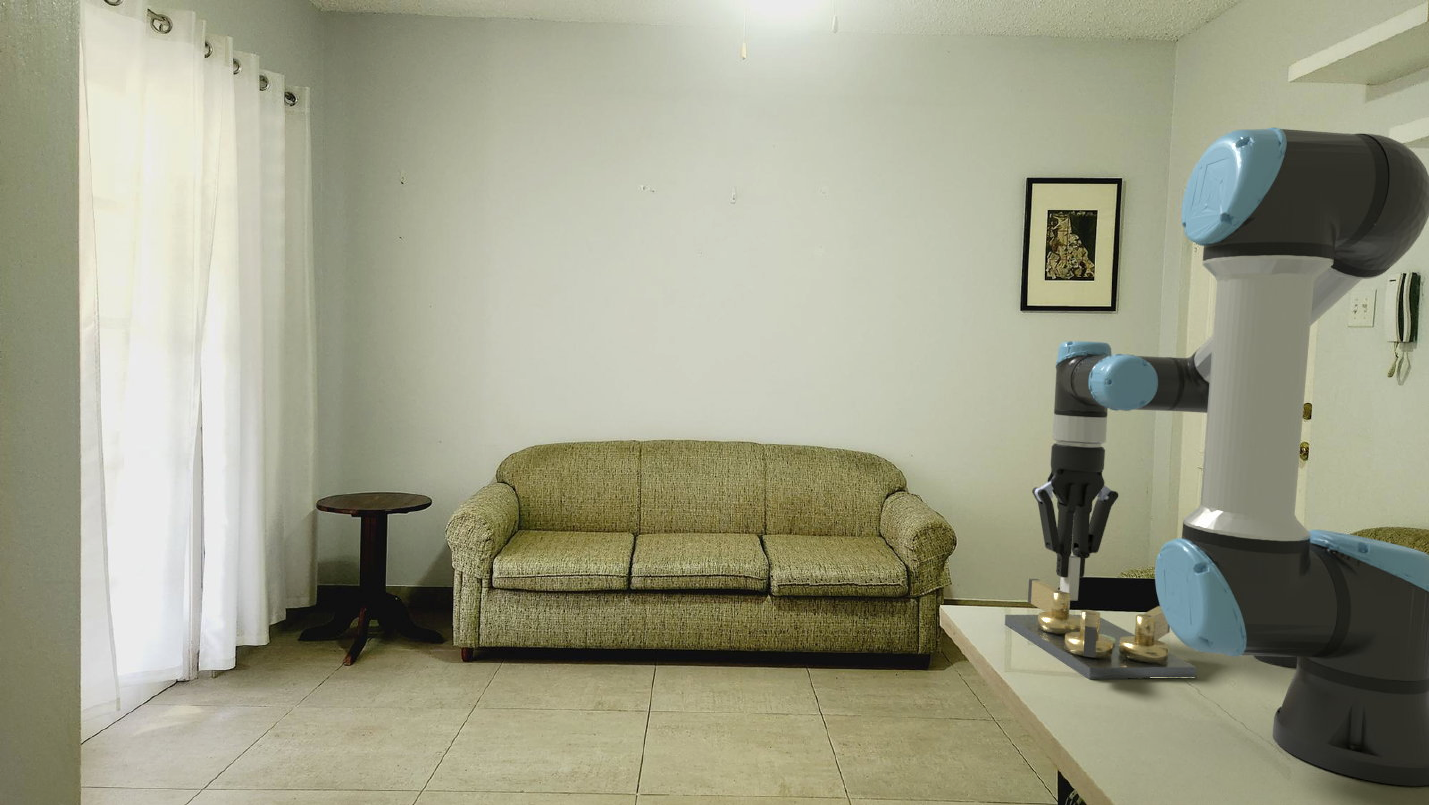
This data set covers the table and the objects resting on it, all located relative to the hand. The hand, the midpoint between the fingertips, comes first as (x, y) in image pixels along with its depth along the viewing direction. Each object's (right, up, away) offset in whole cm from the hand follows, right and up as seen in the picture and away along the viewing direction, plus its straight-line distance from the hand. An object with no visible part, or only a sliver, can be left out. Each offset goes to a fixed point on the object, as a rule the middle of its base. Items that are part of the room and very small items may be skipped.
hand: (1068, 597), depth 140 cm
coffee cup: (+26, -7, -10) cm, 29 cm away
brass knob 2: (-4, -4, -18) cm, 19 cm away
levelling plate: (0, -5, -9) cm, 10 cm away
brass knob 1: (-4, -3, -3) cm, 6 cm away
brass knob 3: (+6, -4, -14) cm, 16 cm away
